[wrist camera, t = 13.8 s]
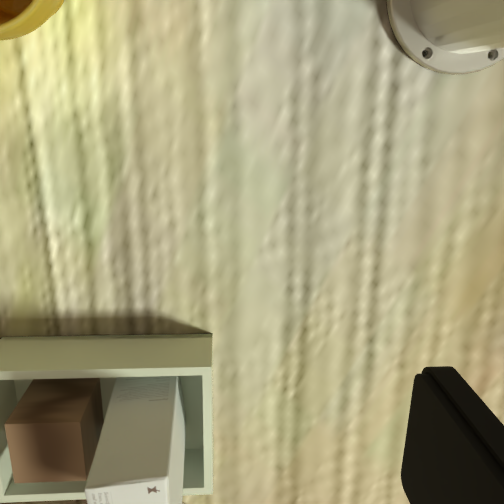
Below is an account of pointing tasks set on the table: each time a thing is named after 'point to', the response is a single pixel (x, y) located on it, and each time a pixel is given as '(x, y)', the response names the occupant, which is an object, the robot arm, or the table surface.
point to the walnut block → (55, 430)
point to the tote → (107, 369)
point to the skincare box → (140, 444)
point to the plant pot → (24, 16)
